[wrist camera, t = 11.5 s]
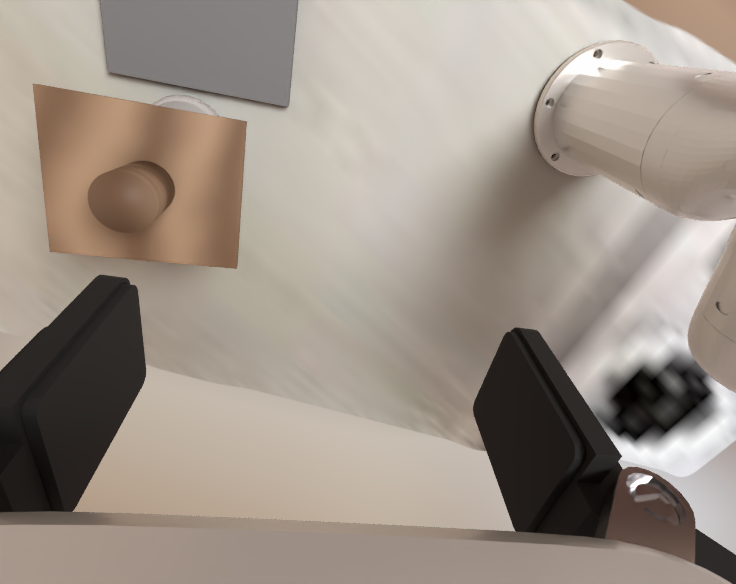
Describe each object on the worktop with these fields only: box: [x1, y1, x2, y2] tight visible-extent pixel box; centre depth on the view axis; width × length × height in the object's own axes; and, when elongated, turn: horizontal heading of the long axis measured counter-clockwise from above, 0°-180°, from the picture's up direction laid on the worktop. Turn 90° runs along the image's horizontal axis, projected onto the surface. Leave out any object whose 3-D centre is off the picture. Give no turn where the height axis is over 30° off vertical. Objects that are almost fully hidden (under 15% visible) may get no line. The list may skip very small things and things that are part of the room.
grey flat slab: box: [100, 0, 298, 107], centre depth 36 cm, size 16×12×1 cm
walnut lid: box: [33, 84, 247, 269], centre depth 30 cm, size 14×12×7 cm
